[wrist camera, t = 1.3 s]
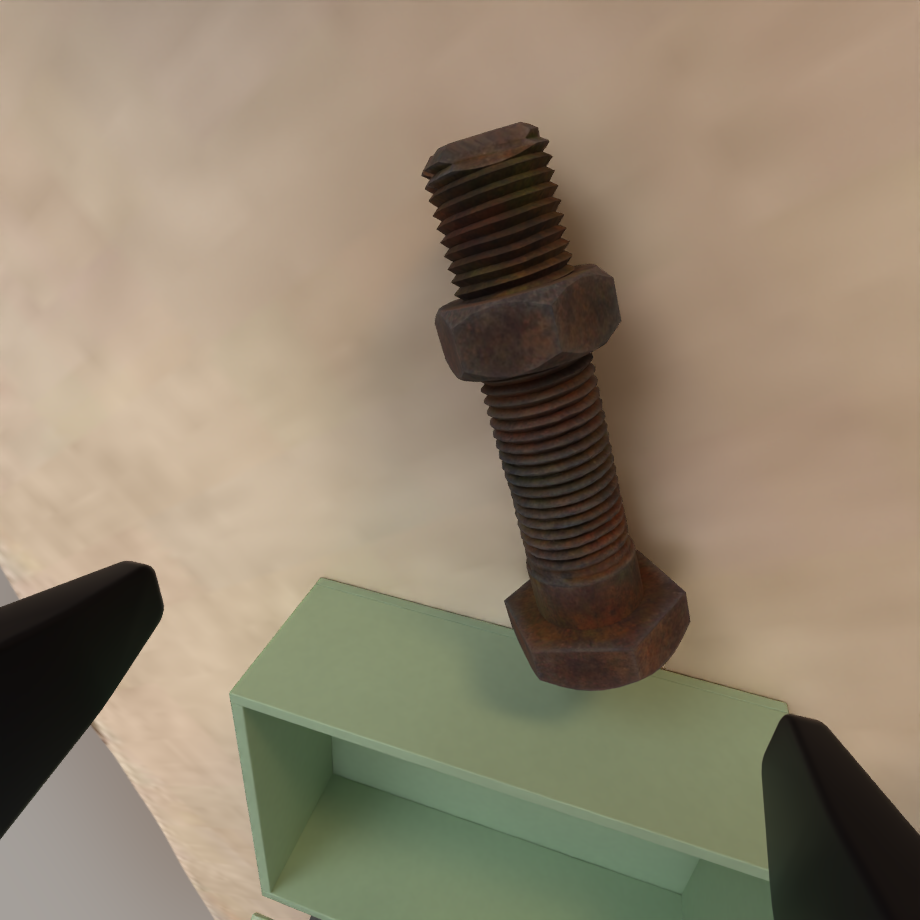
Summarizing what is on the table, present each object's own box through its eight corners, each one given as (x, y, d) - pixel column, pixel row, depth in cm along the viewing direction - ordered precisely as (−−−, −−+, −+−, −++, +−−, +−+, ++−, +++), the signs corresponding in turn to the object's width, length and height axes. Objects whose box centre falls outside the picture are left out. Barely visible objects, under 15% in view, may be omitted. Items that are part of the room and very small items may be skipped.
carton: (787, 702, 21) (834, 892, 16) (688, 892, 28) (698, 1074, 22) (320, 576, 25) (228, 693, 20) (329, 767, 32) (261, 895, 26)
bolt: (536, 140, 17) (626, 567, 22) (373, 187, 17) (503, 613, 22) (631, 73, 12) (721, 660, 17) (392, 140, 11) (560, 725, 16)
